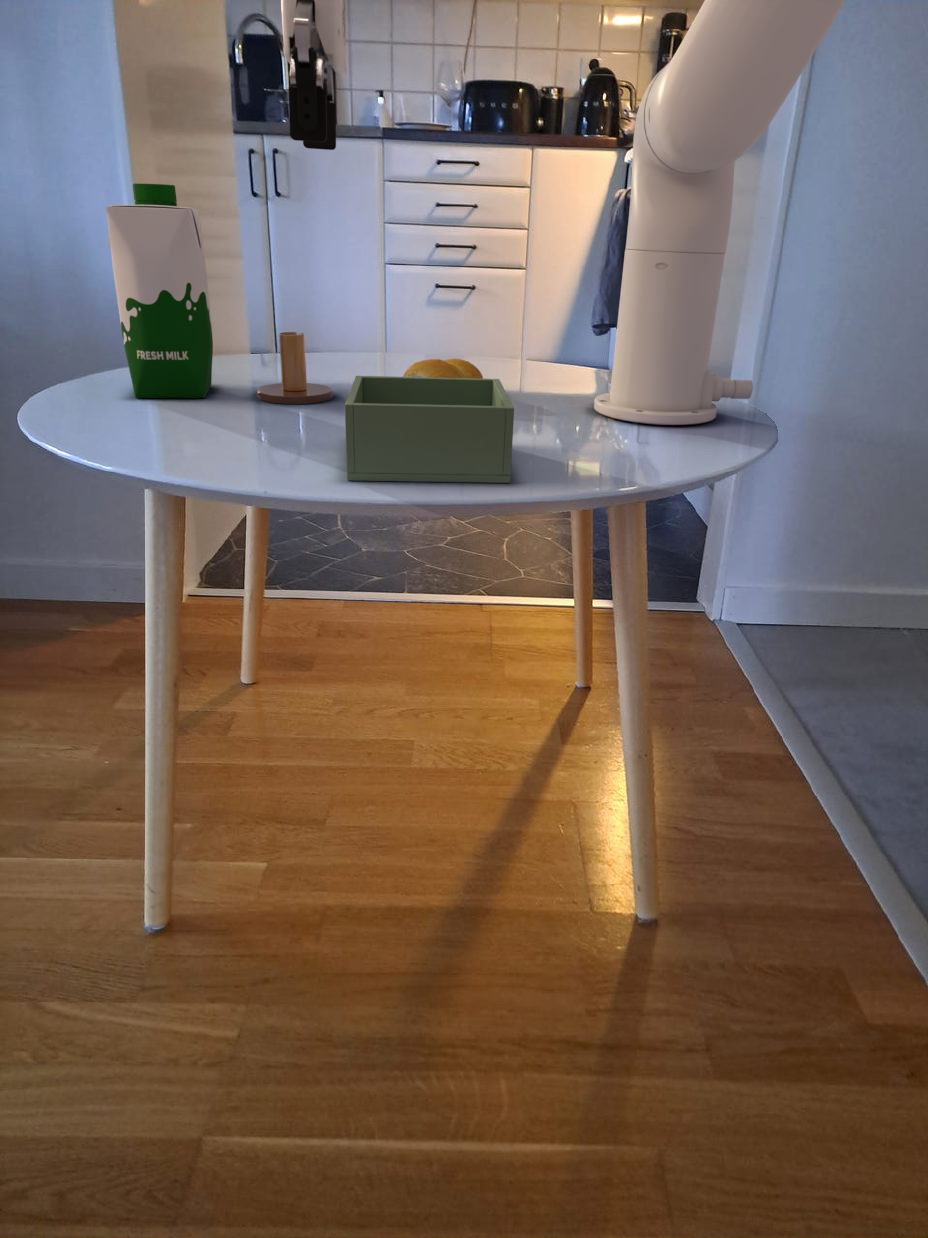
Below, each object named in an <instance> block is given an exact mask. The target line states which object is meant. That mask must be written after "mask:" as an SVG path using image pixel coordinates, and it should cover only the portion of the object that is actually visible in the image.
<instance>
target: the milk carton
mask: <svg viewBox="0 0 928 1238" xmlns="http://www.w3.org/2000/svg"><path fill="white" fill-rule="evenodd" d="M132 190H133V200H134V204H110V205H109V206H105V212H106V220H107V226H108V227H107V228H108V230H107V231H108V246H110V253H111V254H110V255H111V264H112V272H113V279H114V287H115V292H116V293H115V294H116V300H117V307H118V308H117V309H118V313H119V322H120V329H121V330H120V331H121V335H122V341H123V347H124V352H125V357H126V361H127V365H128V370H129V374H130V379H131V385H132V389H133V393H134V398H135V399H205V397H206V396H207V394H208V393H209V390H210V389H211V388H212V381H213V380H212V379H213V378H212V377H213V376H212V375H213V353H214V341H213V339H214V338H213V327H212V318H211V317H212V316H211V307H210V297H209V296H210V294H209V286H208V273H207V264H206V255H205V250H204V243H203V242H204V241H203V232H202V224H201V220H200V215H199V210H198V209H197V208H193V207H187V206H178V202H177V201H178V200H177V193H176V185H174V184H161V183H137V182H135V183H132Z"/></svg>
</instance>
